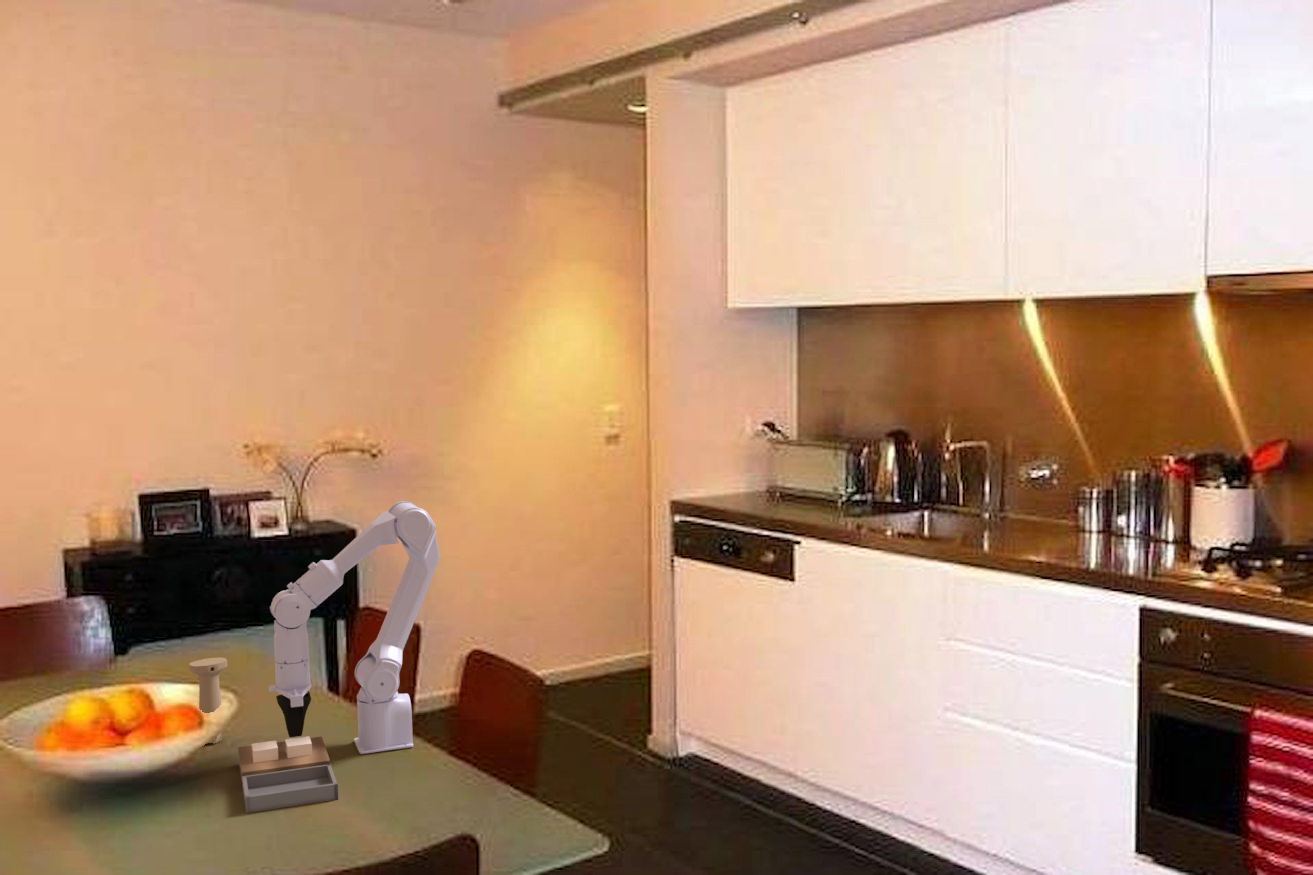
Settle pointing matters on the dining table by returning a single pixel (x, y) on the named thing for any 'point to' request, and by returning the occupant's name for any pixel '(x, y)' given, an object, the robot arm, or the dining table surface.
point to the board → (282, 759)
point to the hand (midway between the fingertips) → (295, 735)
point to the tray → (289, 788)
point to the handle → (209, 684)
